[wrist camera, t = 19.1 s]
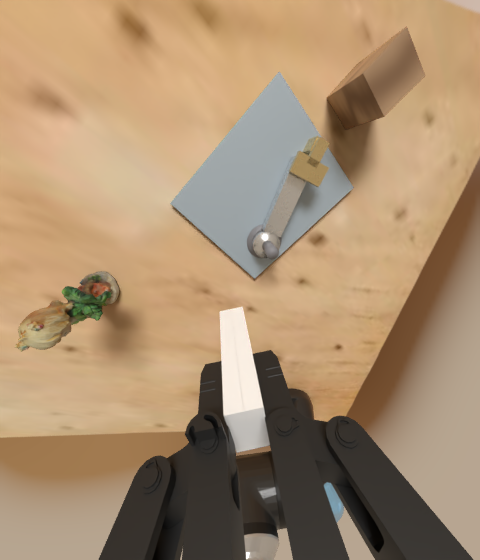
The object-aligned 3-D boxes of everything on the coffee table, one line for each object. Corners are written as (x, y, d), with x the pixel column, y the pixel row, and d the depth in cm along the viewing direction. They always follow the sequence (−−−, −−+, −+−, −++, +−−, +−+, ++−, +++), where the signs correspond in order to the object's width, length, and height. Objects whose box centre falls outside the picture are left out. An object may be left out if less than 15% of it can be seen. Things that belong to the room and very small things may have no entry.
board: (350, 187, 35) (380, 190, 28) (253, 276, 40) (261, 295, 34) (277, 74, 27) (296, 44, 21) (171, 202, 33) (161, 209, 26)
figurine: (96, 308, 40) (36, 377, 26) (66, 275, 36) (-20, 335, 23) (139, 290, 39) (100, 351, 26) (113, 255, 35) (52, 304, 22)
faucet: (270, 257, 37) (273, 261, 36) (247, 249, 36) (249, 253, 35) (312, 167, 32) (318, 166, 30) (287, 154, 30) (291, 153, 29)
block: (374, 99, 30) (425, 76, 22) (345, 129, 31) (384, 116, 24) (357, 64, 28) (406, 26, 21) (326, 97, 29) (363, 73, 22)
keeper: (324, 150, 32) (340, 147, 28) (306, 185, 34) (318, 186, 30) (298, 134, 30) (310, 128, 26) (280, 171, 32) (290, 171, 28)
